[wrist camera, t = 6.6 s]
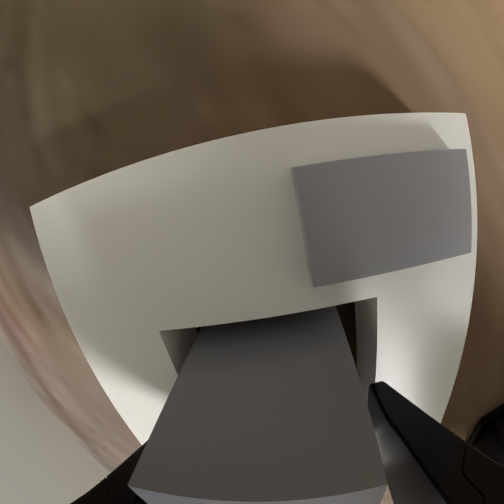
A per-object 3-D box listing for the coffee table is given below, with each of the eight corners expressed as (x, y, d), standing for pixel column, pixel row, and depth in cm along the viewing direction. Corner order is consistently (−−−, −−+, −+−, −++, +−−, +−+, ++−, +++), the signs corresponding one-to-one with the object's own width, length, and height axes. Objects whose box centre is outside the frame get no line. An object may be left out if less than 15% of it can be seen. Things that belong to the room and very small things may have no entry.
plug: (336, 376, 10) (362, 539, 4) (238, 388, 11) (204, 544, 4) (328, 286, 9) (387, 484, 3) (211, 305, 10) (127, 485, 3)
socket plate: (411, 424, 11) (429, 469, 8) (189, 454, 13) (177, 500, 10) (421, 122, 7) (481, 110, 4) (76, 195, 9) (13, 211, 6)
